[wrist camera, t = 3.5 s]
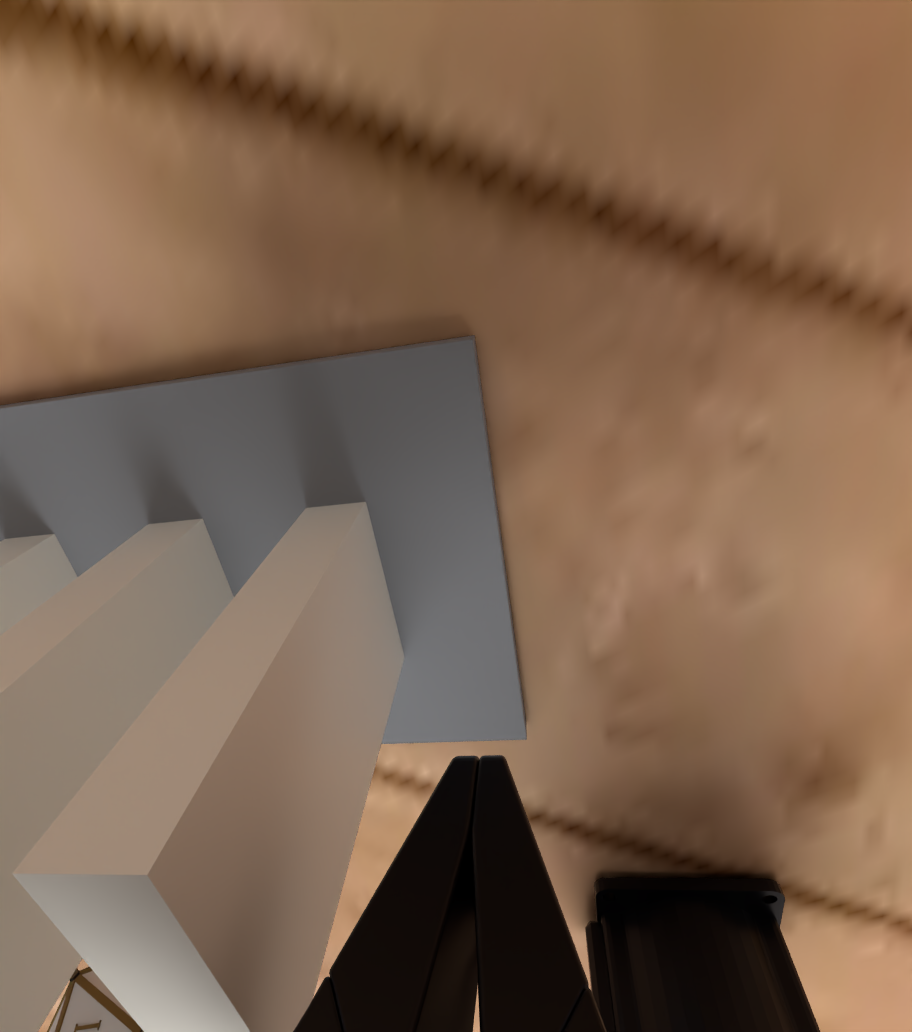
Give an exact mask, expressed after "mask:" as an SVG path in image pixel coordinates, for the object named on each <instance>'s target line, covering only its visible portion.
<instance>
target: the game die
mask: <svg viewBox="0 0 912 1032" xmlns="http://www.w3.org/2000/svg"><path fill="white" fill-rule="evenodd" d="M47 1032H144V1031H143V1030H142V1029H141V1027H140V1026H139V1025H138V1024H137V1023H136V1021H135V1020H134V1019H133V1018H132V1017H131V1015H130V1014H129V1013H128V1012H127V1011H126V1009H125V1008H124V1007H123V1006H122V1005H121V1003H120V1002H119V1001H118V1000H117V999H116V998H115V996H114V995H113V994H112V993H111V992H110V990H109V989H108V988H107V987H106V986H105V984H104V983H103V982H102V981H101V980H100V978H99V977H98V976H97V975H96V974H95V972H94V971H93V970H92V969H91V968H90V967H88V968H85V969H83V970H81V971H79V970H78V969H77V968H76V970H75V971H74V973H73V975H72V976H71V978H70V983H69V985H68V988H67V990H66V992H65V994H64V996H63V998H62V1000H61V1003H60V1005H59V1007H58V1009H57V1011H56V1013H55V1016H54V1018H53V1020H52V1022H51V1024H50V1026H49V1029H48V1031H47Z"/></svg>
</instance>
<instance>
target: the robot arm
mask: <svg viewBox="0 0 912 1032" xmlns="http://www.w3.org/2000/svg"><path fill="white" fill-rule="evenodd" d="M594 890H595V904H596V918H597V921H590V922H589V923H588V925H587V926H586V927H585V929H586V940H587V951H588V962H589V972H590V982H591V990H590V989H589V987H588V980H587V978H586V975H585V972H584V970H583V967H582V964H581V962H580V959H579V956H578V953H577V951H576V948H575V945H574V943H573V940H572V937H571V934H570V932H569V929H568V926H567V924H566V921H565V918H564V915H563V913H562V910H561V907H560V905H559V902H558V899H557V896H556V894H555V891H554V888H553V886H552V883H551V880H550V877H549V875H548V872H547V869H546V867H545V864H544V861H543V858H542V856H541V853H540V850H539V848H538V845H537V842H536V839H535V837H534V834H533V831H532V829H531V826H530V823H529V821H528V818H527V815H526V812H525V810H524V807H523V804H522V802H521V799H520V796H519V793H518V791H517V788H516V785H515V783H514V780H513V777H512V774H511V772H510V769H509V766H508V764H507V761H506V759H505V757H504V756H502V755H492V756H482V757H481V758H480V760H479V758H478V757H477V756H457V757H455V758H453V760H452V761H451V762H450V764H449V766H448V768H447V769H446V771H445V773H444V774H443V776H442V778H441V780H440V781H439V783H438V785H437V787H436V788H435V790H434V792H433V793H432V795H431V797H430V799H429V800H428V802H427V804H426V805H425V807H424V809H423V811H422V812H421V814H420V816H419V817H418V819H417V821H416V823H415V824H414V826H413V828H412V830H411V831H410V833H409V835H408V836H407V838H406V840H405V842H404V843H403V845H402V847H401V848H400V850H399V852H398V854H397V855H396V857H395V859H394V861H393V862H392V864H391V866H390V867H389V869H388V871H387V873H386V874H385V876H384V878H383V879H382V881H381V883H380V885H379V886H378V888H377V890H376V891H375V893H374V895H373V897H372V898H371V900H370V902H369V904H368V905H367V907H366V909H365V910H364V912H363V914H362V916H361V917H360V919H359V921H358V922H357V924H356V926H355V928H354V929H353V931H352V933H351V935H350V936H349V938H348V940H347V941H346V943H345V945H344V947H343V948H342V950H341V952H340V953H339V955H338V957H337V959H336V960H335V962H334V964H333V965H332V967H331V969H330V972H329V974H330V977H326V978H325V979H324V980H323V982H322V984H321V986H320V987H319V989H318V991H317V993H316V994H315V996H314V998H313V999H312V1001H311V1003H310V1005H309V1006H308V1008H307V1010H306V1011H305V1013H304V1015H303V1016H302V1018H301V1020H300V1021H299V1023H298V1024H297V1026H296V1028H295V1029H294V1031H293V1032H473V1022H474V1013H475V1004H476V995H477V985H478V996H479V1017H480V1032H820V1030H819V1027H818V1025H817V1022H816V1019H815V1017H814V1014H813V1012H812V1009H811V1007H810V1004H809V1002H808V999H807V996H806V994H805V991H804V989H803V986H802V984H801V981H800V979H799V976H798V973H797V971H796V968H795V966H794V963H793V961H792V958H791V956H790V953H789V950H788V948H787V945H786V943H785V940H784V938H783V935H782V932H781V930H780V923H781V918H782V913H783V907H784V902H785V897H784V894H783V892H782V890H781V887H780V885H779V884H778V883H777V882H776V881H774V880H769V879H696V878H602V879H599V880H597V881H596V882H595V884H594Z"/></svg>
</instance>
